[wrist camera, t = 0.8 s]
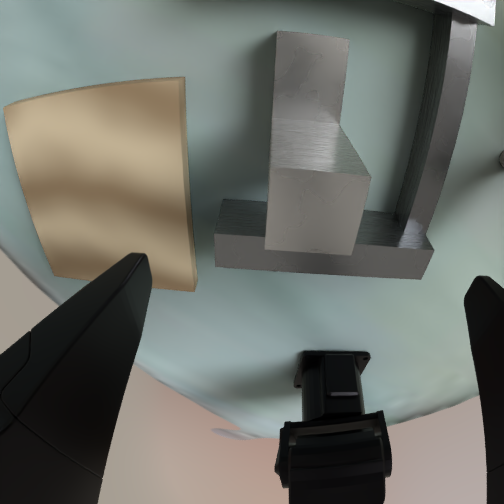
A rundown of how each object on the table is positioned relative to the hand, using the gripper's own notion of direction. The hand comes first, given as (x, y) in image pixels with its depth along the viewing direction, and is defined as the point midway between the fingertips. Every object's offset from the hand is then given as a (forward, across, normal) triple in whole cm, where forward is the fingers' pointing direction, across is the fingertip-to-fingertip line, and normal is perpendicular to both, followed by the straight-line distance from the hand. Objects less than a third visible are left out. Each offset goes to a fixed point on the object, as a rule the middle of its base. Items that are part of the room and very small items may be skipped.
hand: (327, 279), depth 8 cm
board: (+11, +12, +4) cm, 17 cm away
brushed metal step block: (+11, 0, -2) cm, 11 cm away
